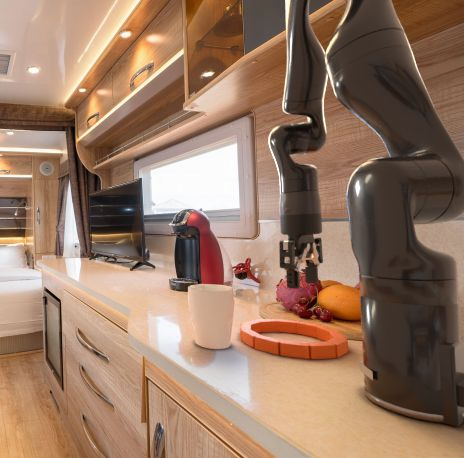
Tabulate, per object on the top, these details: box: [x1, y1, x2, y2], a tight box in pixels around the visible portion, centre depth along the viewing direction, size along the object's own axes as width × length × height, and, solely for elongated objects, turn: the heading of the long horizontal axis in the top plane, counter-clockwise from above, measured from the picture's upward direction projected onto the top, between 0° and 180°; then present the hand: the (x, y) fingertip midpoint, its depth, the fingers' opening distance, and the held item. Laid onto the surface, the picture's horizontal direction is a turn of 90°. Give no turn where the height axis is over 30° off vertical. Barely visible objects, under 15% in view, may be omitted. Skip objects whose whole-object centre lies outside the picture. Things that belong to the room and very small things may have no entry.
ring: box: [239, 318, 349, 360], centre depth 69 cm, size 18×18×2 cm
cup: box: [187, 283, 235, 350], centre depth 70 cm, size 9×9×12 cm
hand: (303, 285), depth 73 cm, fingers open, 8 cm apart
